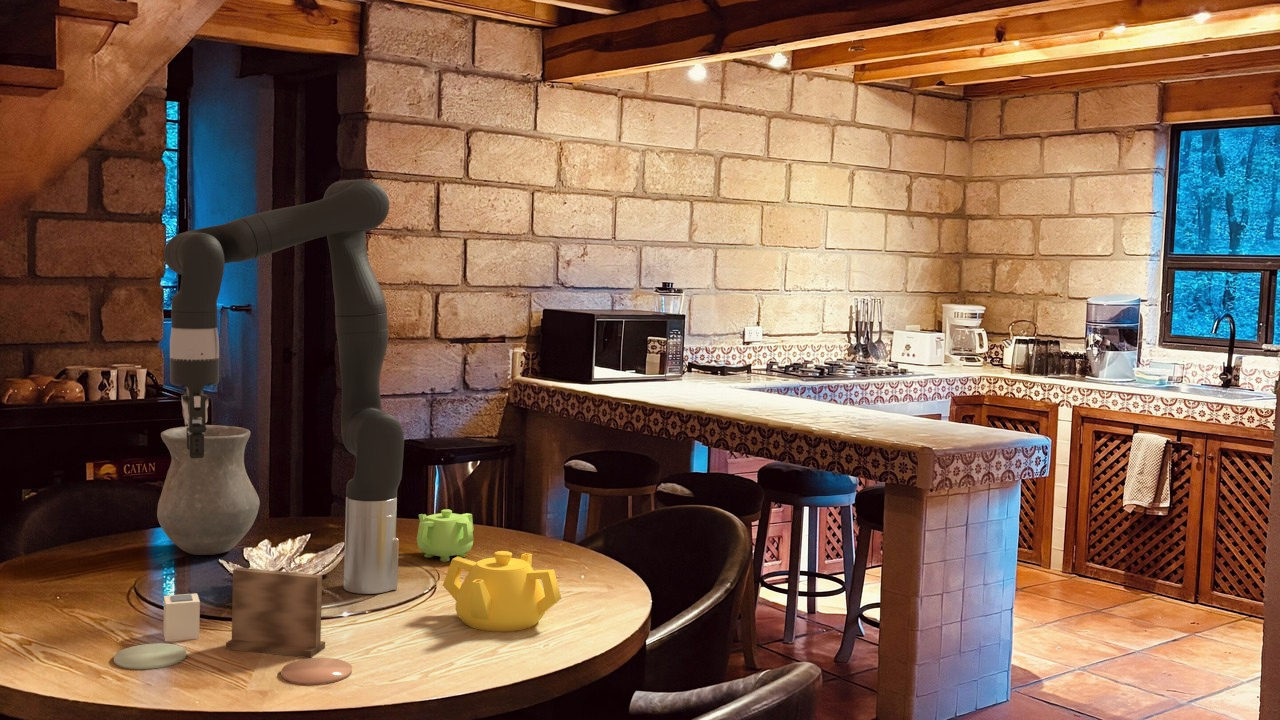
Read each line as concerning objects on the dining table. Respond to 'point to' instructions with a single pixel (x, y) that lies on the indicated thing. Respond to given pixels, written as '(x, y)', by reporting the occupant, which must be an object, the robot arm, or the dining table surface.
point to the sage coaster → (150, 656)
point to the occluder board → (276, 612)
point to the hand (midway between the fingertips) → (195, 453)
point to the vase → (207, 492)
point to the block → (181, 617)
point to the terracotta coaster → (316, 671)
